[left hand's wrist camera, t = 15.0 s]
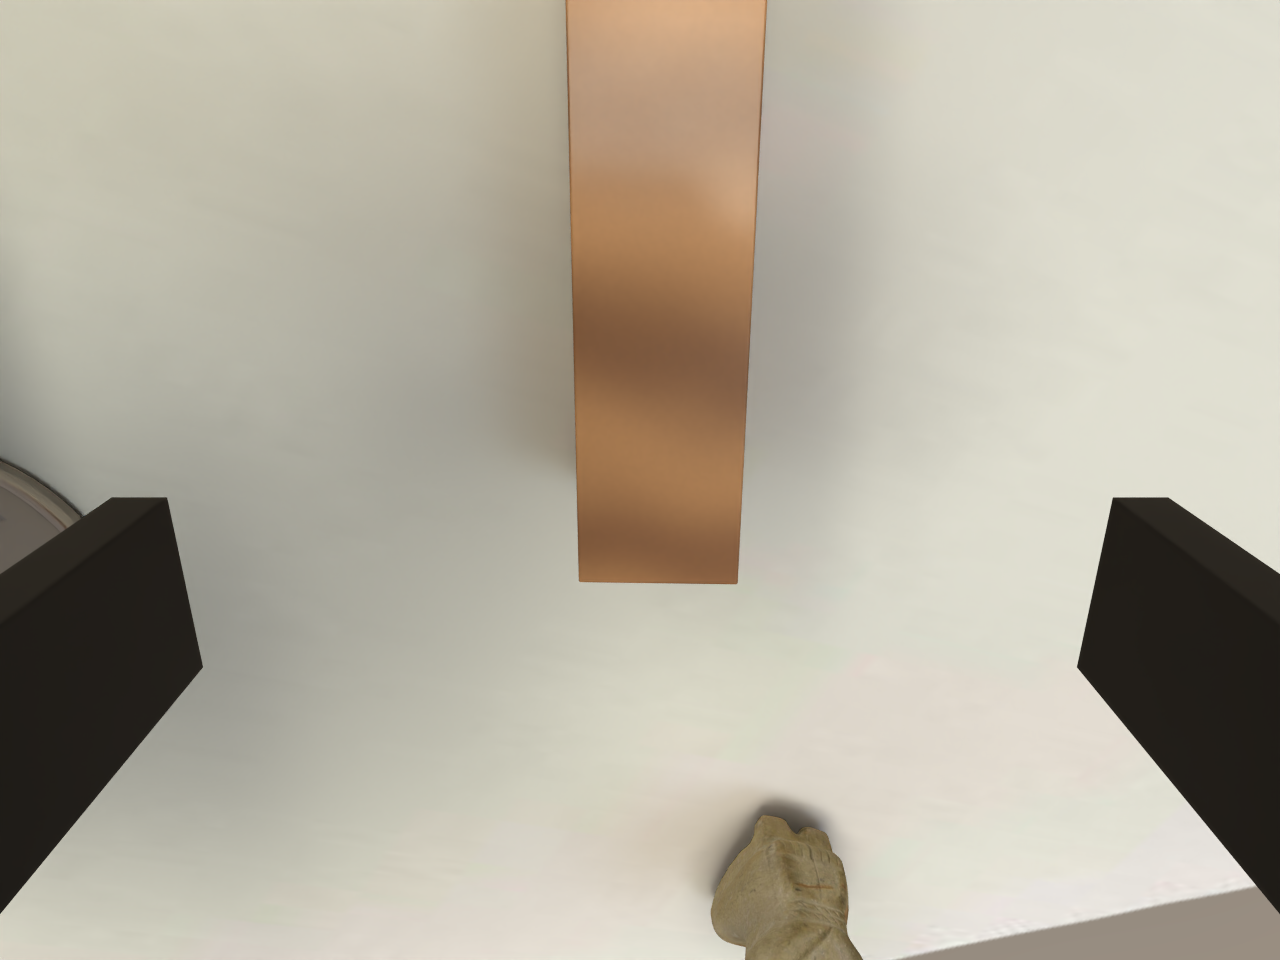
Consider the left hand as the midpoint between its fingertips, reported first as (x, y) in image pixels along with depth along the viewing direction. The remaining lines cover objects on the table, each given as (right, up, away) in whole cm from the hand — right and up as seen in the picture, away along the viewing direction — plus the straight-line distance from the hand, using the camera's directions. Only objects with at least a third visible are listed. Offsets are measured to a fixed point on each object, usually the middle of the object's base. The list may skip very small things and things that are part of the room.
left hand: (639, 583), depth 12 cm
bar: (+1, +39, +8) cm, 40 cm away
